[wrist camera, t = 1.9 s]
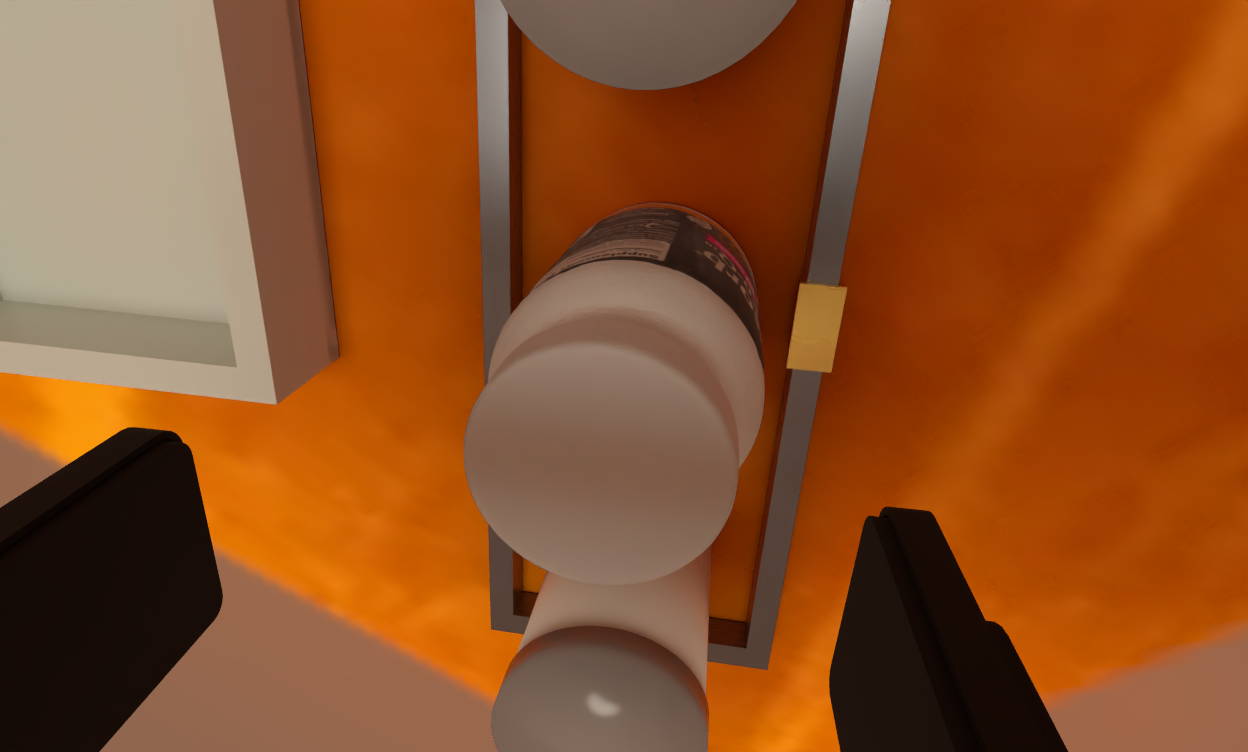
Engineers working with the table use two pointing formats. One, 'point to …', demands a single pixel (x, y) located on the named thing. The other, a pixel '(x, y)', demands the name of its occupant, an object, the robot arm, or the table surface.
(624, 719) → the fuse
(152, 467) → the robot arm
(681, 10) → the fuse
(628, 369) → the pill bottle
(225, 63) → the tray
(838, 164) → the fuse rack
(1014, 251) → the table surface
